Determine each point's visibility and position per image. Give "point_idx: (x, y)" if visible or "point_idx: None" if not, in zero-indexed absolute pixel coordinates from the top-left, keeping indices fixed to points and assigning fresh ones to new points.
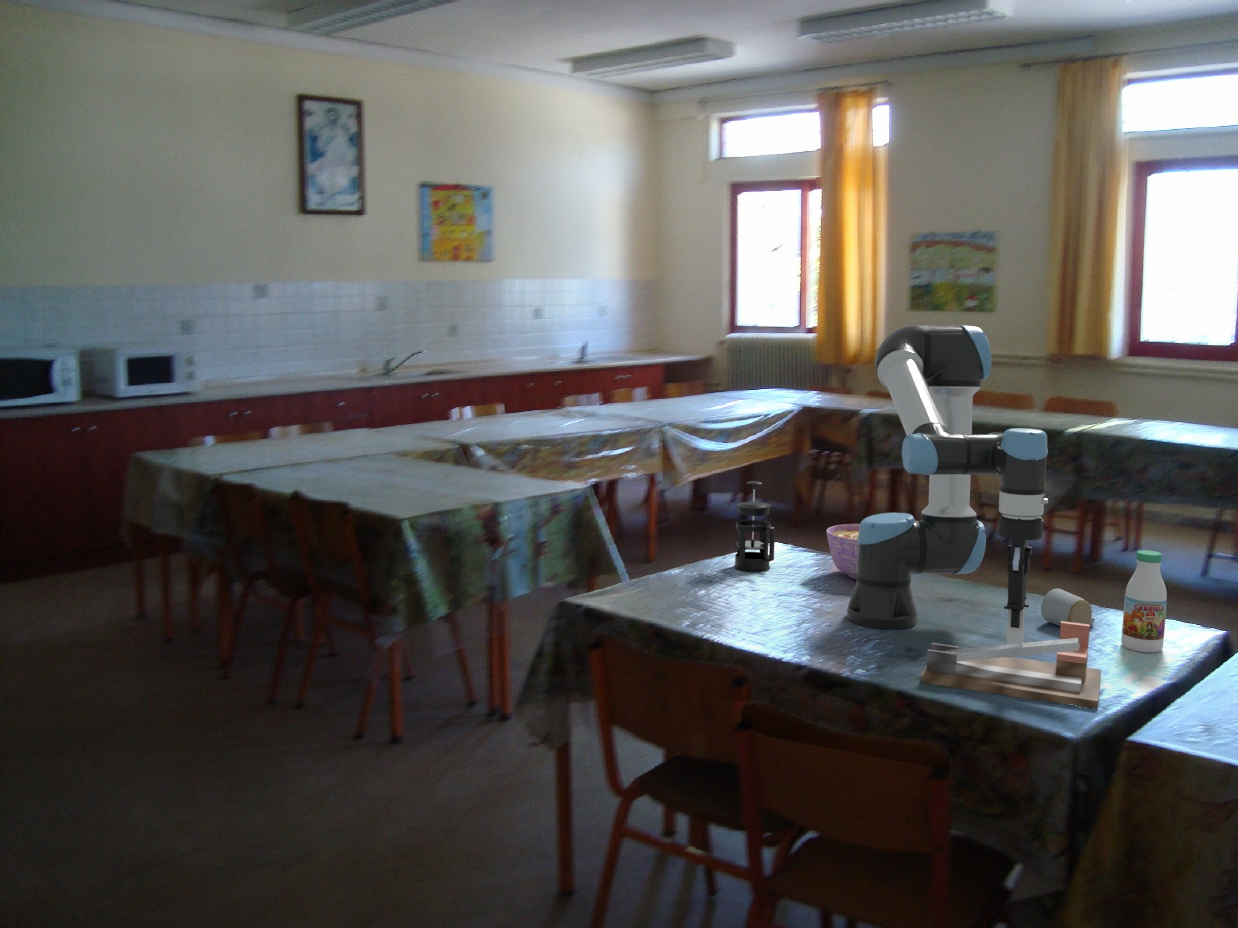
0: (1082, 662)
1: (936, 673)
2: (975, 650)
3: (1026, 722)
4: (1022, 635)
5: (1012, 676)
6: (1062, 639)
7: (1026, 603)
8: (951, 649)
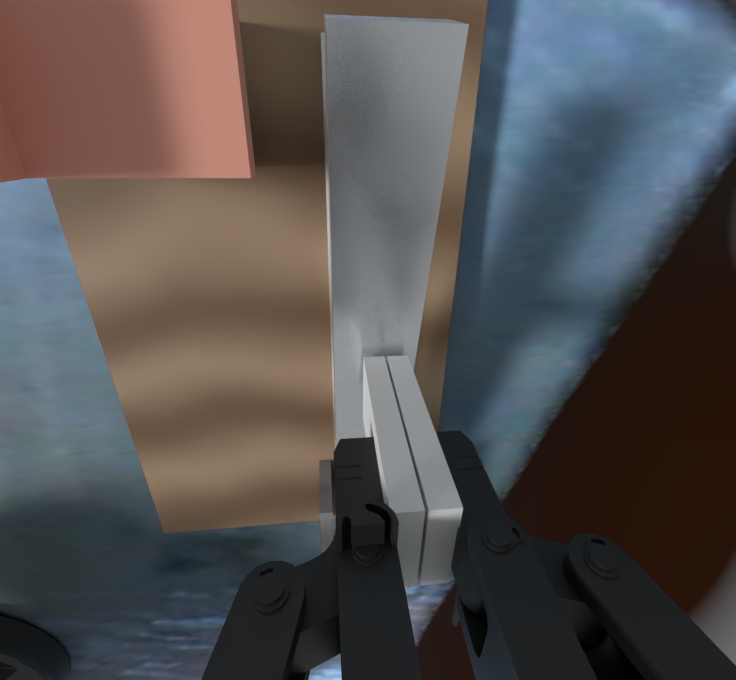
0: (238, 18)
1: None
2: None
3: (655, 226)
4: (417, 385)
5: None
6: (336, 155)
7: (342, 539)
8: None
